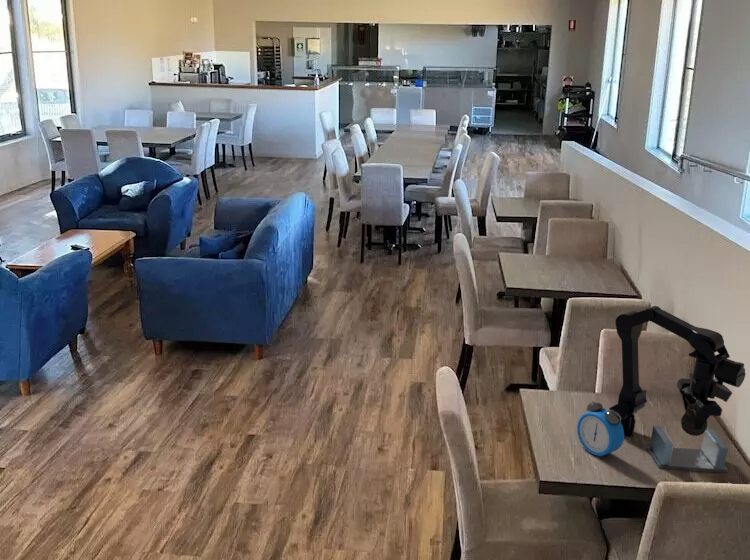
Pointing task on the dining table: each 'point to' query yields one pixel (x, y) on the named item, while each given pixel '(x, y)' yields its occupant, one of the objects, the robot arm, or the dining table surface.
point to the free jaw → (661, 445)
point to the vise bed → (698, 456)
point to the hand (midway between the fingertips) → (693, 422)
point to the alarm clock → (600, 430)
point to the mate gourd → (691, 422)
